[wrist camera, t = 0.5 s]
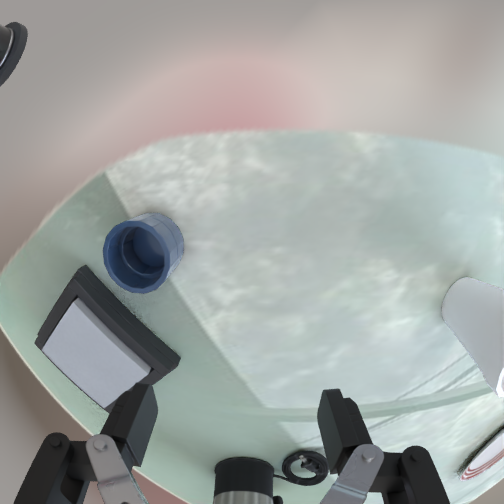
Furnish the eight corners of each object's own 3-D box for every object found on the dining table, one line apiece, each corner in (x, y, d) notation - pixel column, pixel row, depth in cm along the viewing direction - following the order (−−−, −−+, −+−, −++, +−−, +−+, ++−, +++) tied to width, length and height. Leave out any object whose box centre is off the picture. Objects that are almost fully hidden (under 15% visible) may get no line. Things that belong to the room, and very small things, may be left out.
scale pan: (47, 344, 26) (41, 350, 24) (79, 296, 24) (72, 301, 23) (108, 401, 27) (104, 408, 26) (152, 366, 26) (148, 374, 24)
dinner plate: (460, 481, 44) (464, 488, 41) (451, 463, 38) (456, 472, 35) (526, 425, 39) (531, 431, 36) (533, 389, 34) (540, 396, 31)
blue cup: (117, 241, 25) (91, 256, 20) (154, 198, 24) (132, 204, 19) (157, 284, 26) (139, 306, 21) (198, 244, 25) (185, 260, 20)
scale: (43, 329, 28) (31, 340, 25) (85, 264, 26) (70, 273, 23) (121, 402, 31) (114, 417, 28) (181, 357, 28) (174, 374, 25)
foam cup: (478, 248, 25) (557, 286, 13) (489, 305, 27) (551, 350, 14) (422, 296, 26) (496, 360, 14) (439, 349, 28) (494, 412, 16)
